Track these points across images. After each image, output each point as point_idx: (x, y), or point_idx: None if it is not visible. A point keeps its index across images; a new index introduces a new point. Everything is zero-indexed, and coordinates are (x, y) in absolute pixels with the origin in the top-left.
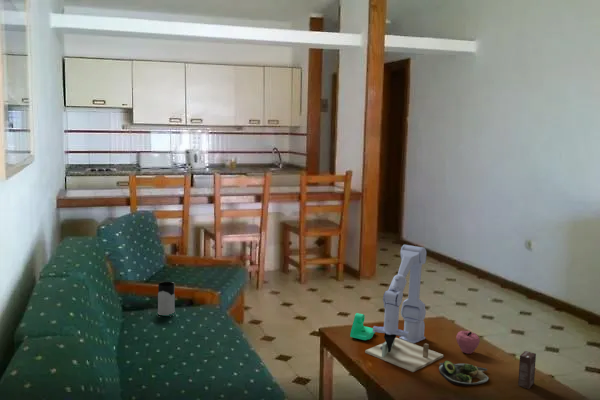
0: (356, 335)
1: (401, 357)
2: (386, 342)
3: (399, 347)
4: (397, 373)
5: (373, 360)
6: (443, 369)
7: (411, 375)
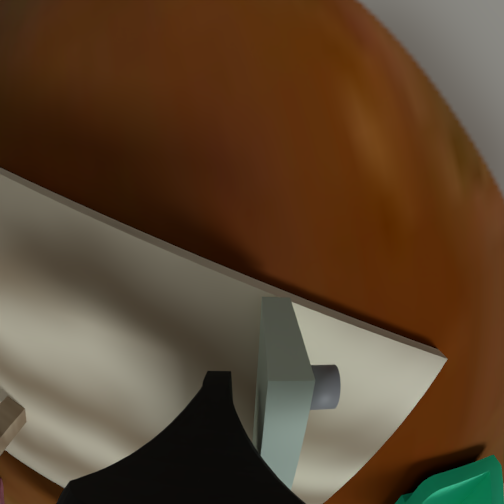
0: (476, 473)
1: (115, 366)
2: (252, 447)
3: None
4: (82, 67)
5: (358, 229)
6: None
7: (2, 107)
